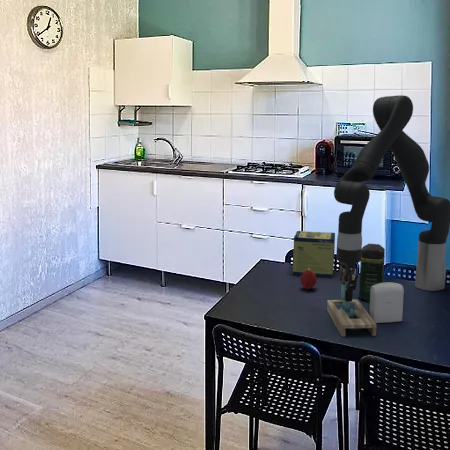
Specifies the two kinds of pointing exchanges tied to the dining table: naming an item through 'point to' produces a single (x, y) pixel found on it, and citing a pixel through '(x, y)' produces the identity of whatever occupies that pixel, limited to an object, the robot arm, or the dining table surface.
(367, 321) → the keyhole plate
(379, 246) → the coffee jar
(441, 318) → the dining table surface
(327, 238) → the protein box
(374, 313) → the photo printer
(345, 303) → the peg
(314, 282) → the red pomegranate
